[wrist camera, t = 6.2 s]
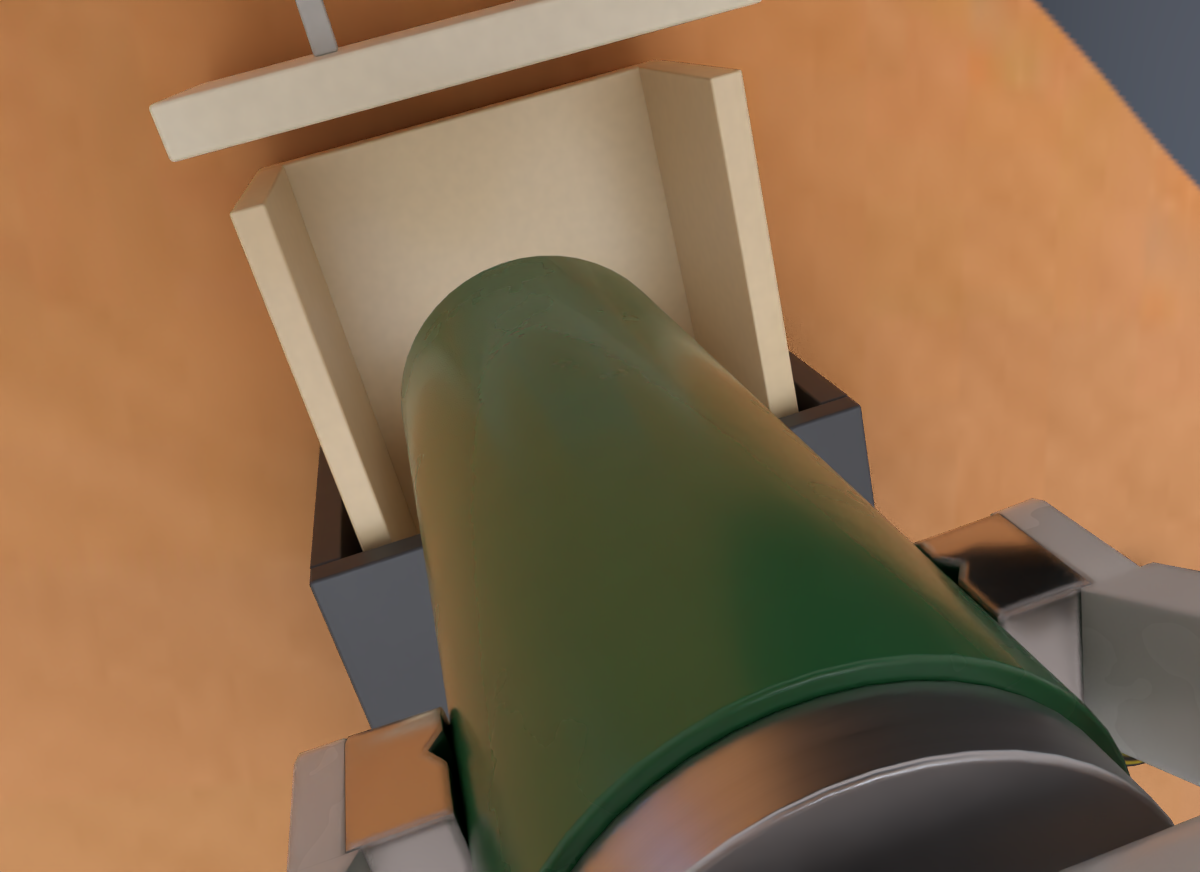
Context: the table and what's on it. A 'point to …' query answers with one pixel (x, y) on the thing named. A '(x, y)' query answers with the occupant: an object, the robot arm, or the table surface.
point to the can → (708, 622)
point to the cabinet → (400, 586)
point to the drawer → (487, 206)
